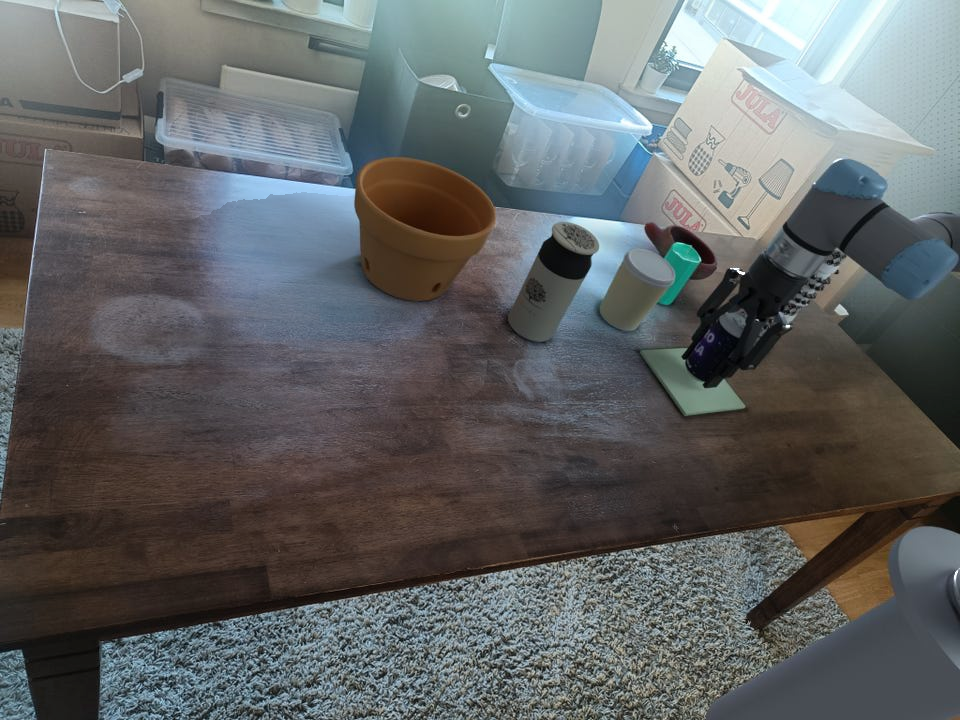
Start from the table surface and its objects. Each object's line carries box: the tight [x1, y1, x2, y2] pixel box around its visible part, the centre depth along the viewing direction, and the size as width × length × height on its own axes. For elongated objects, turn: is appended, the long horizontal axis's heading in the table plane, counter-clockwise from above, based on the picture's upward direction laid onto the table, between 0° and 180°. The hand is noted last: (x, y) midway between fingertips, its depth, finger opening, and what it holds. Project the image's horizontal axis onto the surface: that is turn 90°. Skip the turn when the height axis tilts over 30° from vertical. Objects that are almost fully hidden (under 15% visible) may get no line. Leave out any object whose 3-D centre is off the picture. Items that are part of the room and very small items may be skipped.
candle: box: [657, 242, 701, 306], centre depth 120 cm, size 6×6×12 cm
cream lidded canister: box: [599, 248, 675, 332], centre depth 110 cm, size 9×9×12 cm
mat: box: [639, 347, 746, 417], centre depth 107 cm, size 14×14×1 cm
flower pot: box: [353, 156, 497, 302], centre depth 97 cm, size 21×21×15 cm
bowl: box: [644, 221, 718, 281], centre depth 130 cm, size 16×13×8 cm
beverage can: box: [685, 311, 746, 382], centre depth 102 cm, size 6×6×12 cm
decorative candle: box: [739, 248, 848, 344], centre depth 116 cm, size 9×9×25 cm
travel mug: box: [507, 221, 601, 343], centre depth 97 cm, size 8×8×18 cm
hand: (698, 371), depth 106 cm, fingers closed on beverage can, 6 cm apart
